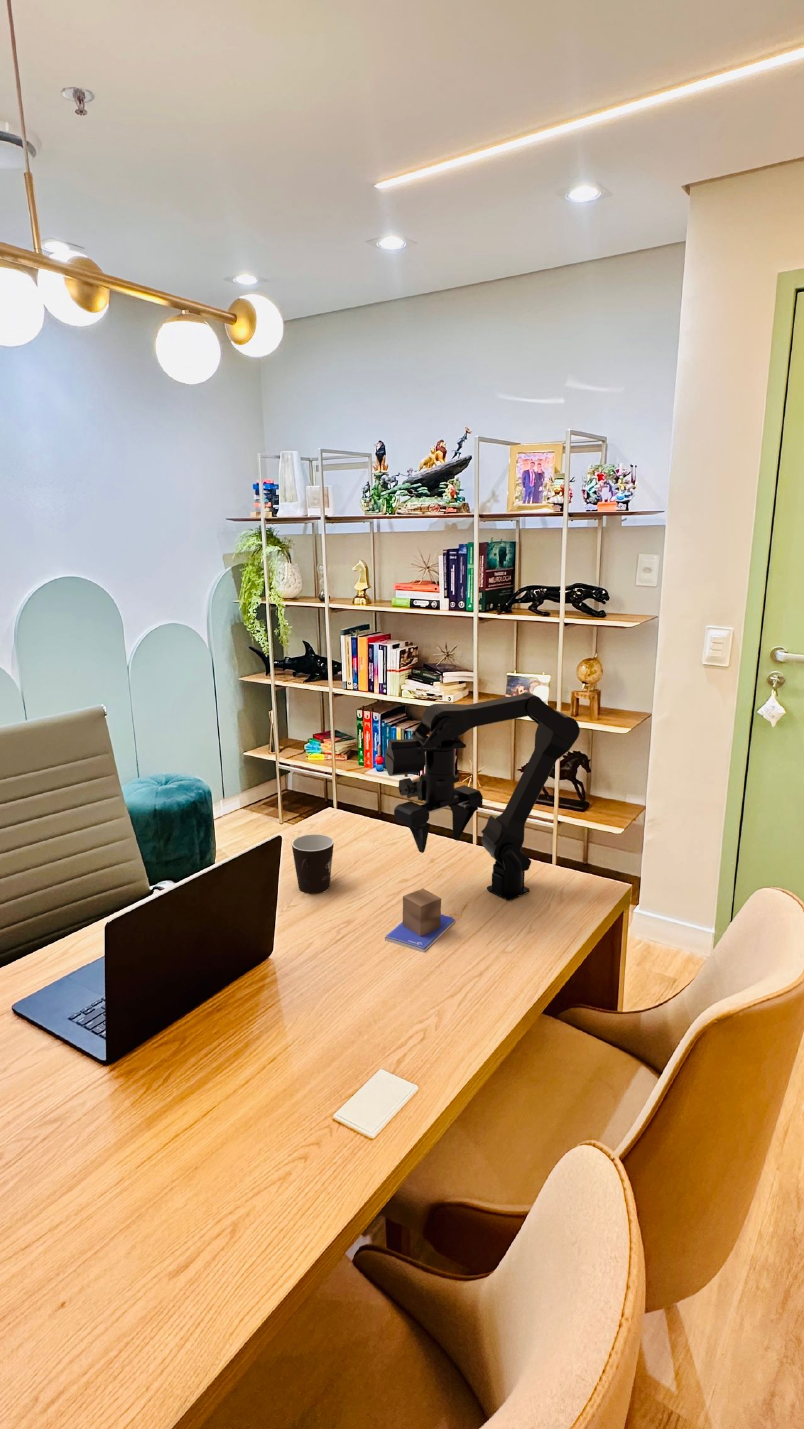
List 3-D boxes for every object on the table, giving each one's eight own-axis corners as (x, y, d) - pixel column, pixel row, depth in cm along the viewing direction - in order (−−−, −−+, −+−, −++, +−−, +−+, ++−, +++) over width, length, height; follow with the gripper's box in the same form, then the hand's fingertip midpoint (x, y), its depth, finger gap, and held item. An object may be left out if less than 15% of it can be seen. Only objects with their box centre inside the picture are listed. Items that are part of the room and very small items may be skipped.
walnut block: (422, 917, 148) (423, 888, 146) (440, 927, 144) (441, 898, 143) (402, 925, 145) (402, 896, 143) (420, 936, 141) (420, 906, 139)
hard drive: (424, 947, 137) (455, 917, 148) (384, 935, 141) (417, 907, 152) (424, 955, 138) (454, 925, 148) (384, 943, 142) (417, 914, 152)
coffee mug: (312, 873, 168) (311, 830, 165) (343, 884, 163) (342, 840, 160) (274, 894, 158) (272, 849, 156) (305, 906, 154) (303, 859, 151)
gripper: (446, 751, 161) (445, 822, 164) (375, 770, 149) (376, 845, 153) (485, 764, 152) (483, 838, 156) (413, 785, 141) (413, 864, 145)
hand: (438, 845), depth 153 cm, fingers open, 9 cm apart
